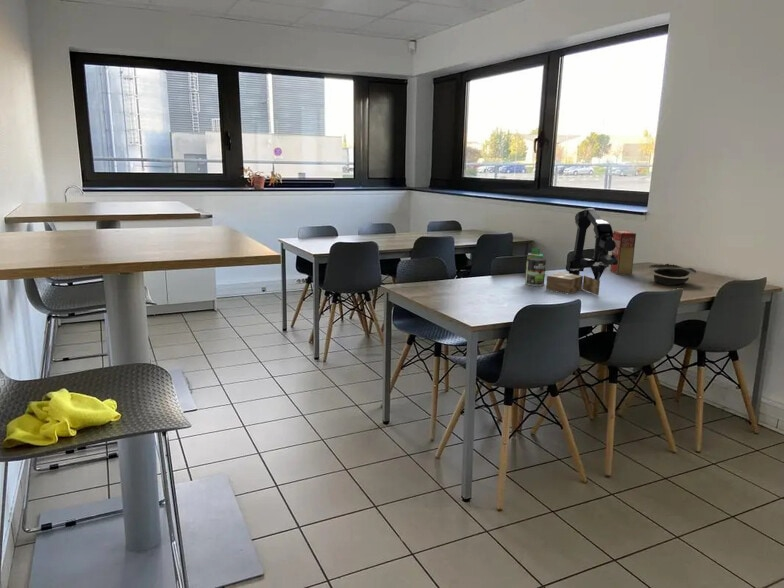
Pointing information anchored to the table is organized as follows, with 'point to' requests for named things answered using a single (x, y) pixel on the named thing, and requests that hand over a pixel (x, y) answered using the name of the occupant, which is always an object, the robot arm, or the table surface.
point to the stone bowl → (671, 274)
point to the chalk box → (535, 254)
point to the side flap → (591, 284)
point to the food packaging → (623, 251)
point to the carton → (564, 282)
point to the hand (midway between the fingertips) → (597, 278)
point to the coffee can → (535, 271)
